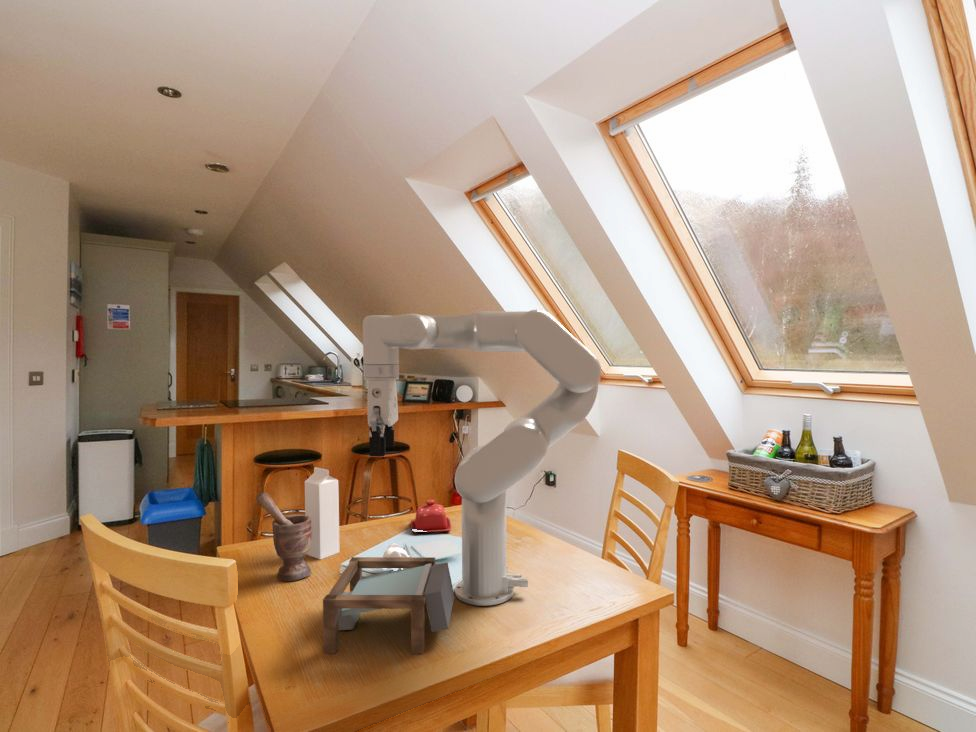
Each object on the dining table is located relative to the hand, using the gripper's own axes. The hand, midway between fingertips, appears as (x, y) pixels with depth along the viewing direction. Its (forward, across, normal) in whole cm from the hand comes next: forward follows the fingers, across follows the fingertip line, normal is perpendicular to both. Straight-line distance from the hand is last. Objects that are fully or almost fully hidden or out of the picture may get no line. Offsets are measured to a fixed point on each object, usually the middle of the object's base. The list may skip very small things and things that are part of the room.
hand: (382, 451), depth 120 cm
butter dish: (+31, +40, -5) cm, 51 cm away
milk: (+31, +20, +20) cm, 42 cm away
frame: (+30, -16, -4) cm, 34 cm away
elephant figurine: (+31, +9, -1) cm, 32 cm away
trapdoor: (+29, -16, -7) cm, 34 cm away
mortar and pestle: (+31, +6, +24) cm, 39 cm away
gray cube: (+27, -16, +2) cm, 32 cm away
